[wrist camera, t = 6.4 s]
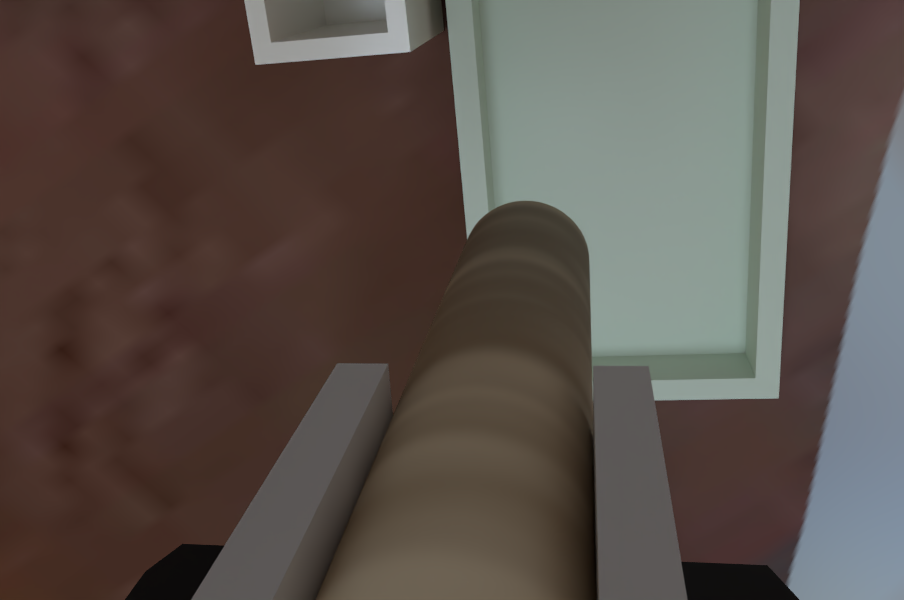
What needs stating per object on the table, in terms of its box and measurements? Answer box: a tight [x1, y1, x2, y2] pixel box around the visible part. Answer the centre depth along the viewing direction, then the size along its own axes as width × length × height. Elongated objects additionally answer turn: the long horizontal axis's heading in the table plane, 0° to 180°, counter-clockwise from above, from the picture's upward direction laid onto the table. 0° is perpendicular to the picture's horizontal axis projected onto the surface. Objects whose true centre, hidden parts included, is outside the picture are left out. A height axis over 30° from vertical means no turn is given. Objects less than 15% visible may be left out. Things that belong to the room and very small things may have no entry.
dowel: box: [315, 201, 597, 600], centre depth 13 cm, size 3×3×17 cm
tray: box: [445, 0, 800, 400], centre depth 36 cm, size 22×13×4 cm, turn 6°
